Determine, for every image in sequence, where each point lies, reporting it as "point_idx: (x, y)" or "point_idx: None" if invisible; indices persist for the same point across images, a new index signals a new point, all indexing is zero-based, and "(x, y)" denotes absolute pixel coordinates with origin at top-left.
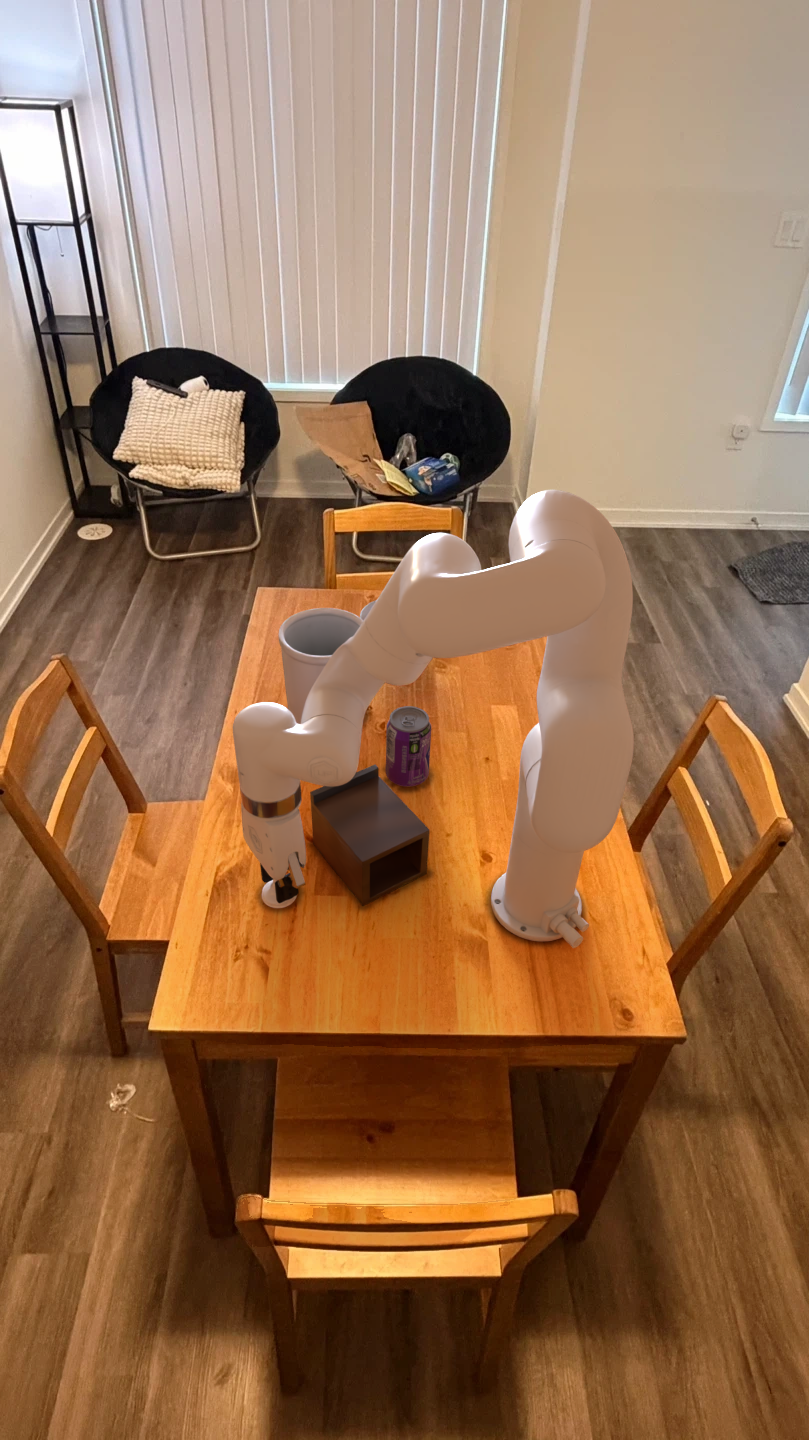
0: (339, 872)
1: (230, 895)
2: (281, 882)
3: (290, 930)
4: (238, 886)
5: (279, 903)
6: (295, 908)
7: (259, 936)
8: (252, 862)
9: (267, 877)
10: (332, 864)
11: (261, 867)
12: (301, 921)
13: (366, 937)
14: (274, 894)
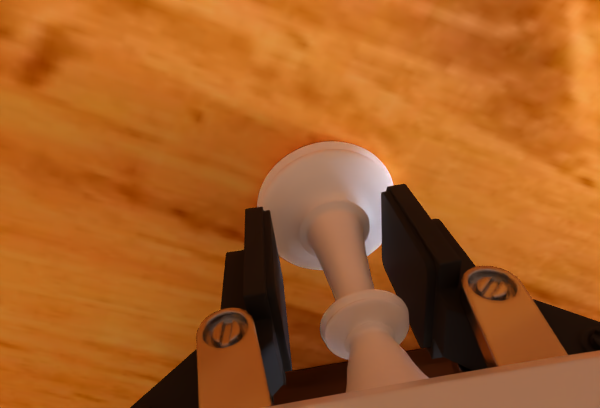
0: (303, 391)
1: (432, 12)
2: (198, 361)
3: (136, 192)
4: (456, 67)
5: (266, 201)
6: (237, 235)
7: (139, 64)
8: (529, 160)
9: (391, 217)
10: (346, 381)
11: (431, 242)
12: (169, 238)
13: (46, 376)
14: (310, 202)
